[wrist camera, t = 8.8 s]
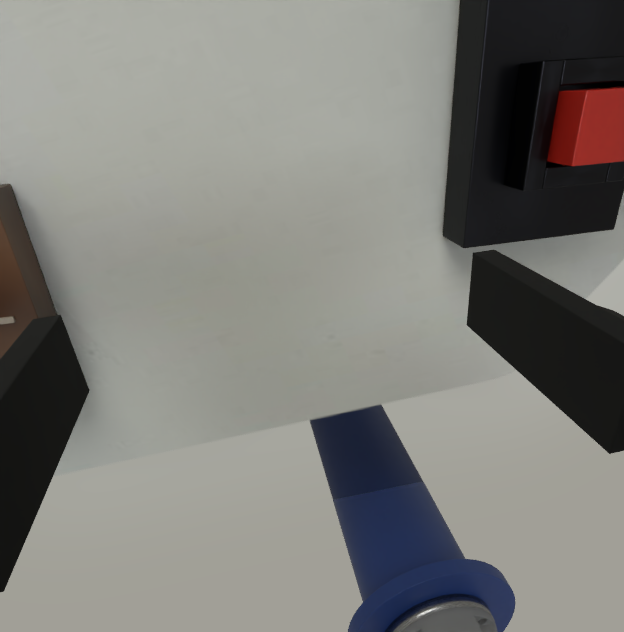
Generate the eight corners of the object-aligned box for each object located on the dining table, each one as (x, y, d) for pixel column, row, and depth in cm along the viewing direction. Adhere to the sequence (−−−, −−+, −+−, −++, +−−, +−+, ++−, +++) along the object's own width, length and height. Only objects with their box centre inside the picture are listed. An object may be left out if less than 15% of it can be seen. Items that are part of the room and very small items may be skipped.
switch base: (582, 219, 33) (639, 237, 28) (442, 236, 31) (479, 258, 27) (632, -14, 26) (716, -37, 22) (460, -8, 25) (513, -31, 20)
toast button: (602, 156, 26) (631, 160, 24) (546, 161, 25) (571, 166, 23) (617, 86, 24) (650, 85, 22) (558, 91, 24) (586, 90, 22)
